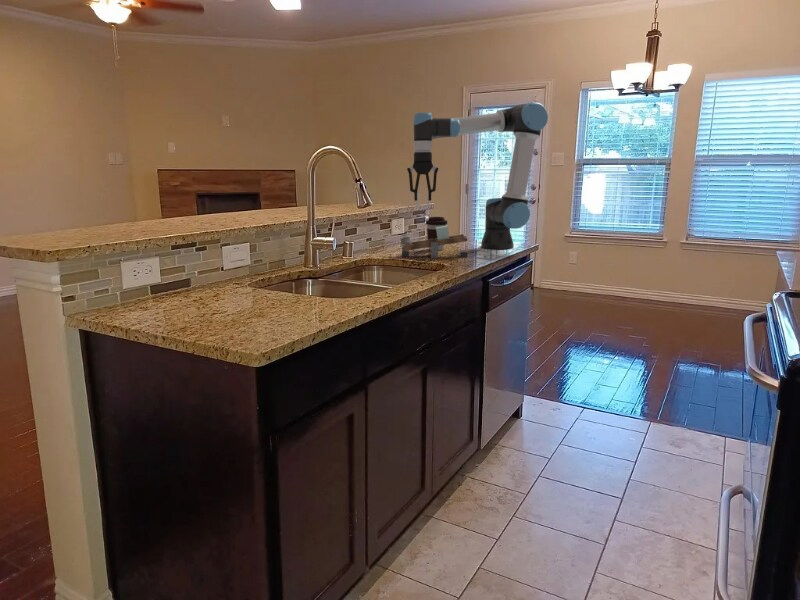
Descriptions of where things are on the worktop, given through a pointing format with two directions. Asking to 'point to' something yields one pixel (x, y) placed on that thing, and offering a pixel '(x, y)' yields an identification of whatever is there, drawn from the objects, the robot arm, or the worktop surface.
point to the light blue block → (442, 232)
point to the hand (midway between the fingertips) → (422, 208)
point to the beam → (429, 242)
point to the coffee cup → (431, 228)
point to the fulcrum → (435, 251)
